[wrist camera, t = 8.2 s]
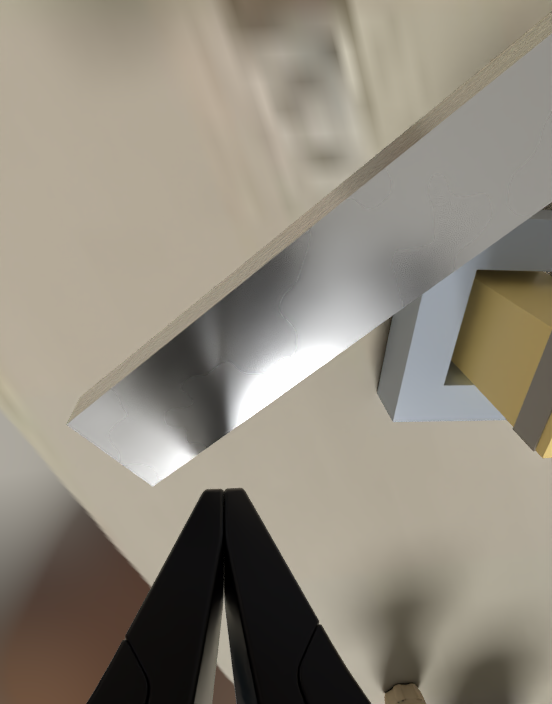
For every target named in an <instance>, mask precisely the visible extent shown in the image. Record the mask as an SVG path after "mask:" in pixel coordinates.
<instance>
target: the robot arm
mask: <svg viewBox="0 0 552 704" xmlns="http://www.w3.org/2000/svg"><path fill="white" fill-rule="evenodd" d="M223 597H224V599H225V610H226V618H227V627H228V635H229V644H230V652H231V660H232V669H233V677H234V686H235V694H236V703H237V704H371V702H370V701H369V700H368V698H367V697H366V695H365V694H364V692H363V691H362V689H361V688H360V686H359V685H358V683H357V682H356V681H355V679H354V678H353V676H352V675H351V673H350V672H349V670H348V669H347V667H346V665H345V664H344V662H343V661H342V659H341V657H340V656H339V654H338V652H337V651H336V649H335V647H334V646H333V644H332V642H331V641H330V639H329V637H328V635H327V634H326V632H325V630H324V628H323V627H322V625H320V624H319V620H318V618H317V616H316V615H315V613H314V611H313V609H312V608H311V606H310V604H309V602H308V601H307V599H306V597H305V595H304V594H303V592H302V590H301V588H300V587H299V585H298V583H297V581H296V580H295V578H294V576H293V574H292V573H291V571H290V569H289V567H288V566H287V564H286V562H285V560H284V559H283V557H282V555H281V553H280V552H279V550H278V548H277V546H276V544H275V543H274V541H273V539H272V537H271V536H270V534H269V532H268V530H267V529H266V527H265V525H264V523H263V522H262V520H261V518H260V516H259V515H258V513H257V511H256V509H255V508H254V506H253V504H252V502H251V501H250V499H249V497H248V495H247V494H246V492H245V490H244V489H242V488H231V489H226V490H225V491H223V490H222V489H207V490H205V491H204V492H203V493H202V495H201V497H200V498H199V500H198V502H197V504H196V506H195V508H194V510H193V511H192V513H191V515H190V517H189V519H188V521H187V522H186V524H185V526H184V528H183V530H182V532H181V534H180V535H179V537H178V539H177V541H176V543H175V545H174V547H173V548H172V550H171V552H170V554H169V556H168V558H167V560H166V561H165V563H164V565H163V567H162V569H161V571H160V572H159V574H158V576H157V578H156V580H155V582H154V584H153V585H152V587H151V589H150V591H149V593H148V595H147V597H146V598H145V600H144V602H143V604H142V606H141V608H140V610H139V611H138V613H137V615H136V617H135V619H134V621H133V623H132V624H131V627H130V628H129V630H128V632H127V634H126V636H125V638H126V640H123V641H122V642H121V645H120V646H119V648H118V650H117V652H116V654H115V655H114V658H113V659H112V661H111V663H110V664H109V666H108V668H107V670H106V671H105V673H104V675H103V677H102V678H101V680H100V682H99V684H98V686H97V687H96V689H95V691H94V692H93V694H92V696H91V697H90V699H89V700H88V702H87V703H86V704H212V698H213V690H214V681H215V671H216V663H217V654H218V645H219V636H220V628H221V619H222V610H223Z"/></svg>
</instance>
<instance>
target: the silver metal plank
mask: <svg viewBox="0 0 552 704" xmlns="http://www.w3.org/2000/svg"><path fill="white" fill-rule="evenodd" d="M551 202H552V12H551V13H550V14H548V15H547V16H546V17H545V18H543V19H542V20H541V21H540V22H539V23H537V24H536V25H535V26H534V27H532V28H531V29H530V30H529V31H528V32H526V33H525V34H524V35H523V36H521V37H520V38H519V39H518V40H517V41H515V42H514V43H513V44H512V45H510V46H509V47H508V48H507V49H506V50H504V51H503V52H502V53H501V54H499V55H498V56H497V57H496V58H495V59H493V60H492V61H491V62H490V63H488V64H487V65H486V66H485V67H484V68H482V69H481V70H480V71H479V72H477V73H476V74H475V75H474V76H473V77H471V78H470V79H469V80H468V81H466V82H465V83H464V84H463V85H462V86H460V87H459V88H458V89H457V90H455V91H454V92H453V93H452V94H450V95H449V96H448V97H447V98H446V99H444V100H443V101H442V102H441V103H439V104H438V105H437V106H436V107H435V108H433V109H432V110H431V111H430V112H428V113H427V114H426V115H425V116H424V117H422V118H421V119H420V120H419V121H417V122H416V123H415V124H414V125H413V126H411V127H410V128H409V129H408V130H406V131H405V132H404V133H403V134H402V135H400V136H399V137H398V138H397V139H395V140H394V141H393V142H392V143H391V144H389V145H388V146H387V147H386V148H384V149H383V150H382V151H381V152H380V153H378V154H377V155H376V156H375V157H373V158H372V159H371V160H370V161H369V162H367V163H366V164H365V165H364V166H362V167H361V168H360V169H359V170H358V171H356V172H355V173H354V174H353V175H351V176H350V177H349V178H348V179H347V180H345V181H344V182H343V183H342V184H340V185H339V186H338V187H337V188H336V189H334V190H333V191H332V192H331V193H329V194H328V195H327V196H326V197H325V198H323V199H322V200H321V201H320V202H318V203H317V204H316V205H315V206H314V207H312V208H311V209H310V210H309V211H307V212H306V213H305V214H304V215H302V216H301V217H300V218H299V219H298V220H296V221H295V222H294V223H293V224H291V225H290V226H289V227H288V228H287V229H285V230H284V231H283V232H282V233H280V234H279V235H278V236H277V237H276V238H274V239H273V240H272V241H271V242H269V243H268V244H267V245H266V246H265V247H263V248H262V249H261V250H260V251H258V252H257V253H256V254H255V255H254V256H252V257H251V258H250V259H249V260H247V261H246V262H245V263H244V264H243V265H241V266H240V267H239V268H238V269H236V270H235V271H234V272H233V273H232V274H230V275H229V276H228V277H227V278H225V279H224V280H223V281H222V282H221V283H219V284H218V285H217V286H216V287H214V288H213V289H212V290H211V291H210V292H208V293H207V294H206V295H205V296H203V297H202V298H201V299H200V300H199V301H197V302H196V303H195V304H194V305H192V306H191V307H190V308H189V309H188V310H186V311H185V312H184V313H183V314H181V315H180V316H179V317H178V318H177V319H175V320H174V321H173V322H172V323H170V324H169V325H168V326H167V327H166V328H164V329H163V330H162V331H161V332H159V333H158V334H157V335H156V336H154V337H153V338H152V339H151V340H150V341H148V342H147V343H146V344H145V345H143V346H142V347H141V348H140V349H139V350H137V351H136V352H135V353H134V354H132V355H131V356H130V357H129V358H128V359H126V360H125V361H124V362H123V363H121V364H120V365H119V366H118V367H117V368H115V369H114V370H113V371H112V372H110V373H109V374H108V375H107V376H106V377H104V378H103V379H102V380H101V381H99V382H98V383H97V384H96V385H95V386H93V387H92V388H91V389H90V390H88V391H87V392H86V393H85V394H84V395H82V396H81V397H80V399H79V401H78V403H77V405H76V407H75V409H74V411H73V412H72V414H71V416H70V418H69V420H68V422H67V424H66V425H67V426H69V427H70V428H72V429H73V430H74V431H76V432H77V433H79V434H80V435H81V436H83V437H84V438H86V439H87V440H88V441H90V442H91V443H93V444H94V445H95V446H97V447H98V448H100V449H101V450H102V451H104V452H105V453H106V454H108V455H109V456H111V457H112V458H113V459H115V460H116V461H118V462H119V463H120V464H122V465H123V466H125V467H126V468H127V469H129V470H130V471H132V472H133V473H134V474H136V475H137V476H139V477H140V478H141V479H143V480H144V481H146V482H147V483H148V484H150V485H151V486H154V485H156V484H157V483H158V482H160V481H161V480H163V479H164V478H165V477H167V476H168V475H170V474H171V473H172V472H174V471H175V470H177V469H178V468H179V467H181V466H182V465H184V464H185V463H186V462H188V461H189V460H191V459H192V458H193V457H195V456H196V455H198V454H199V453H200V452H202V451H203V450H205V449H206V448H208V447H209V446H210V445H212V444H213V443H215V442H216V441H217V440H219V439H220V438H222V437H223V436H224V435H226V434H227V433H229V432H230V431H231V430H233V429H234V428H236V427H237V426H238V425H240V424H241V423H243V422H244V421H245V420H247V419H248V418H250V417H251V416H252V415H254V414H255V413H257V412H258V411H259V410H261V409H262V408H264V407H265V406H266V405H268V404H269V403H271V402H272V401H273V400H275V399H276V398H278V397H279V396H280V395H282V394H283V393H285V392H286V391H287V390H289V389H290V388H292V387H293V386H295V385H296V384H297V383H299V382H300V381H302V380H303V379H304V378H306V377H307V376H309V375H310V374H311V373H313V372H314V371H316V370H317V369H318V368H320V367H321V366H323V365H324V364H325V363H327V362H328V361H330V360H331V359H332V358H334V357H335V356H337V355H338V354H339V353H341V352H342V351H344V350H345V349H346V348H348V347H349V346H351V345H352V344H353V343H355V342H356V341H358V340H359V339H360V338H362V337H363V336H365V335H366V334H367V333H369V332H370V331H372V330H373V329H374V328H376V327H377V326H379V325H380V324H381V323H383V322H384V321H386V320H387V319H389V318H390V317H391V316H393V315H394V314H396V313H397V312H398V311H400V310H401V309H403V308H404V307H405V306H407V305H408V304H410V303H411V302H412V301H414V300H415V299H417V298H418V297H419V296H421V295H422V294H424V293H425V292H426V291H428V290H429V289H431V288H432V287H433V286H435V285H436V284H438V283H439V282H440V281H442V280H443V279H445V278H446V277H447V276H449V275H450V274H452V273H453V272H454V271H456V270H457V269H459V268H460V267H461V266H463V265H464V264H466V263H467V262H468V261H470V260H471V259H473V258H474V257H476V256H477V255H478V254H480V253H481V252H483V251H484V250H485V249H487V248H488V247H490V246H491V245H492V244H494V243H495V242H497V241H498V240H499V239H501V238H502V237H504V236H505V235H506V234H508V233H509V232H511V231H512V230H513V229H515V228H516V227H518V226H519V225H520V224H522V223H523V222H525V221H526V220H527V219H529V218H530V217H532V216H533V215H534V214H536V213H537V212H539V211H540V210H541V209H543V208H544V207H546V206H547V205H548V204H550V203H551Z"/></svg>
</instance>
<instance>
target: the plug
mask: <svg viewBox="0 0 552 704" xmlns="http://www.w3.org/2000/svg"><path fill="white" fill-rule="evenodd" d="M451 361H452V362H453V363H454V364H455V365H456V366H457V367H458V368H459V369H460V370H461V371H462V372H463V374H464V375H465V376H466V377H467V378H468V379H469V380H470V381H471V382H472V383H473V384H474V385H475V386H476V387H477V389H478V390H479V391H480V392H481V393H482V394H483V395H484V396H485V397H486V398H487V399H488V400H489V401H490V402H491V403H492V405H493V406H494V407H495V408H496V409H497V410H498V411H499V412H500V413H501V414H502V415H503V416H504V417H505V418H506V419H507V421H508V422H509V423H510V424H511V425H512V426H513V430H514V431H515V432H516V433H517V434H518V435H519V436H520V437H521V439H522V440H523V441H524V442H525V443H526V444H527V445H528V446H529V447H530V448H531V449H532V450H533V451H536V452H537V453H538V454H539V455H540V456H541V457H542V458H552V276H551V275H549V274H547V273H544V272H542V271H510V270H477V271H476V274H475V278H474V281H473V285H472V288H471V292H470V295H469V299H468V302H467V306H466V309H465V313H464V316H463V320H462V323H461V327H460V330H459V334H458V337H457V341H456V344H455V348H454V351H453V355H452V358H451Z"/></svg>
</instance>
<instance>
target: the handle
mask: <svg viewBox="0 0 552 704" xmlns="http://www.w3.org/2000/svg"><path fill="white" fill-rule="evenodd" d="M384 698H385V704H426V703H425V700H424V698H423V696H422V694H421V692H420V690H419V689H418V688H417V686H416V685H415V684H412V683H411V684H407V685H400V684H398V685H395V686H394V687H393V689H392V690H390V691H388V692H386V694H385V697H384Z"/></svg>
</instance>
